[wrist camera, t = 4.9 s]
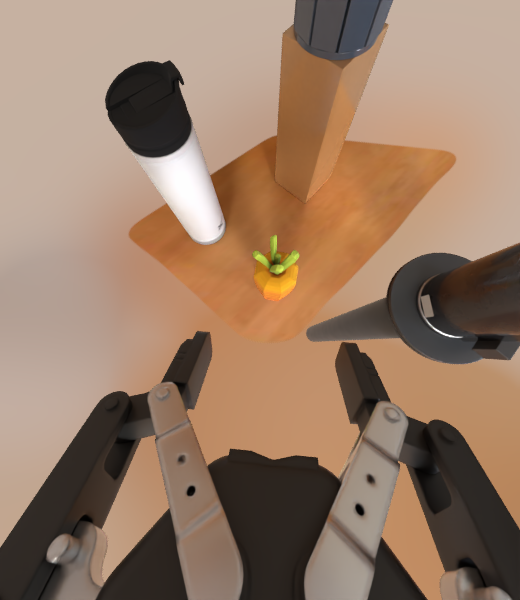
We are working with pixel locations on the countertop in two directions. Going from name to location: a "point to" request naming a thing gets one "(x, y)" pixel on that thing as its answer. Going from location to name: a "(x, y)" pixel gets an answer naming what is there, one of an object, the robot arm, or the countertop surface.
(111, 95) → the travel mug
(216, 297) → the countertop surface
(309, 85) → the pad socket
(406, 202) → the countertop surface
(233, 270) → the countertop surface
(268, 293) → the carrot
